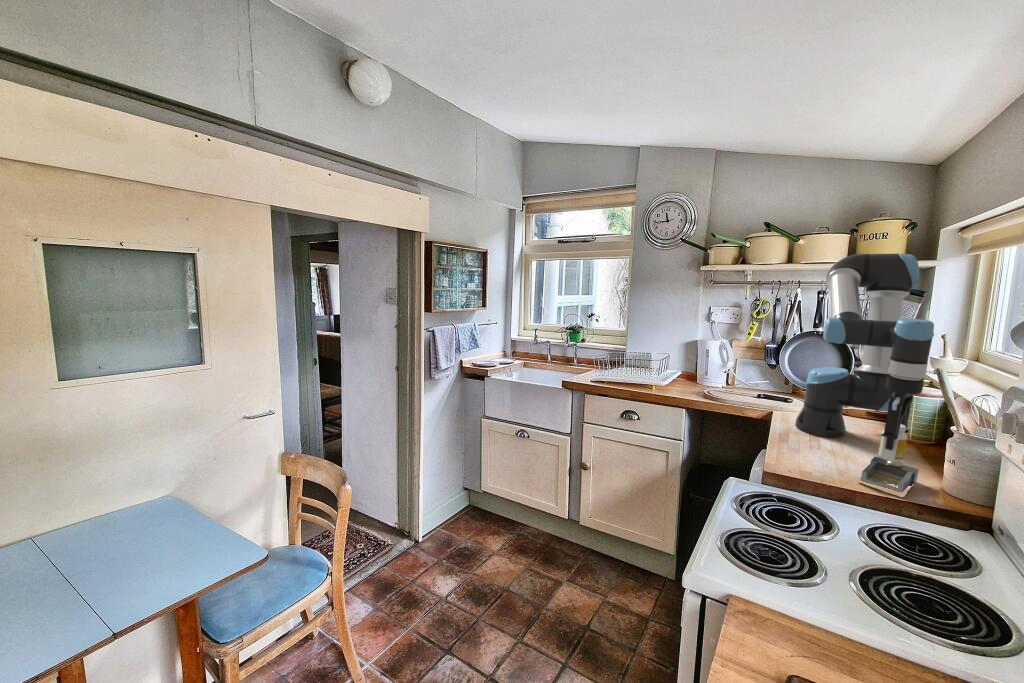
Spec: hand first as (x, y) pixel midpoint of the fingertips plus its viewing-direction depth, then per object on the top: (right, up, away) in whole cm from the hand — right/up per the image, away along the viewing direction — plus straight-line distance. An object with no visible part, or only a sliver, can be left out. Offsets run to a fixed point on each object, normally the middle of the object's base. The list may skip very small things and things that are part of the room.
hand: (890, 456), depth 122 cm
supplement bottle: (0, -1, 0) cm, 1 cm away
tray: (+2, -8, +3) cm, 9 cm away
